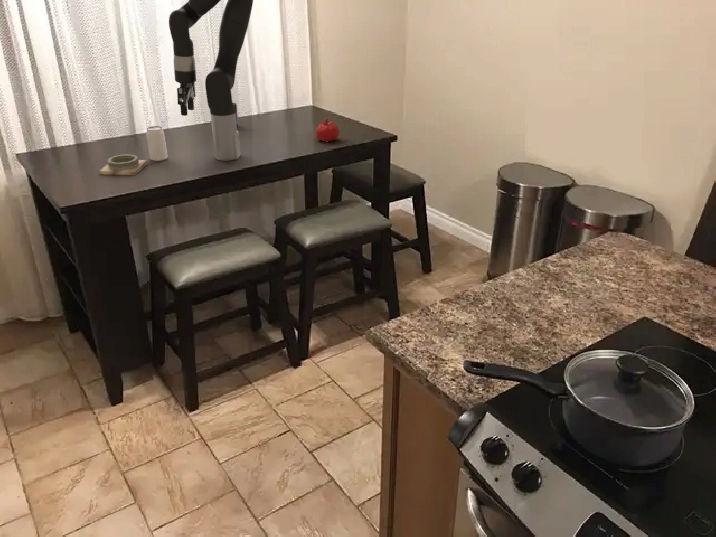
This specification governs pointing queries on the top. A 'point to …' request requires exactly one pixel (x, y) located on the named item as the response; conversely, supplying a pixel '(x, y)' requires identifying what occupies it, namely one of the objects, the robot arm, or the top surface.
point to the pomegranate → (327, 131)
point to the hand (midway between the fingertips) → (187, 112)
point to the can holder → (123, 165)
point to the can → (156, 143)
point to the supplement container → (236, 114)
